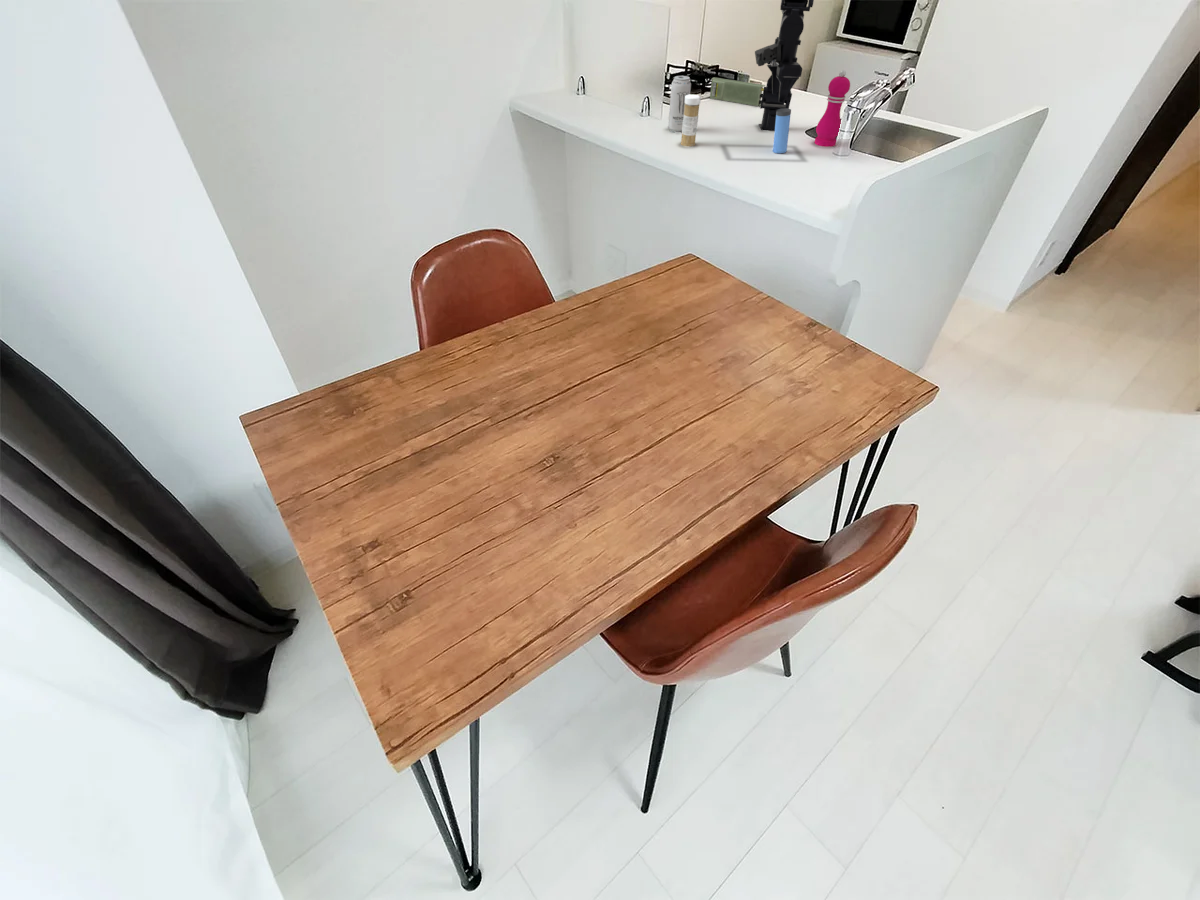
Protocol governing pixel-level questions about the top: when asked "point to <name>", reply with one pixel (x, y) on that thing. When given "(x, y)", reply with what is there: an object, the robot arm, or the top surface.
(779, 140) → the tube
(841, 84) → the pepper mill
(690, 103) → the sprinkles bottle
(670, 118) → the energy drink can
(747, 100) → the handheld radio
